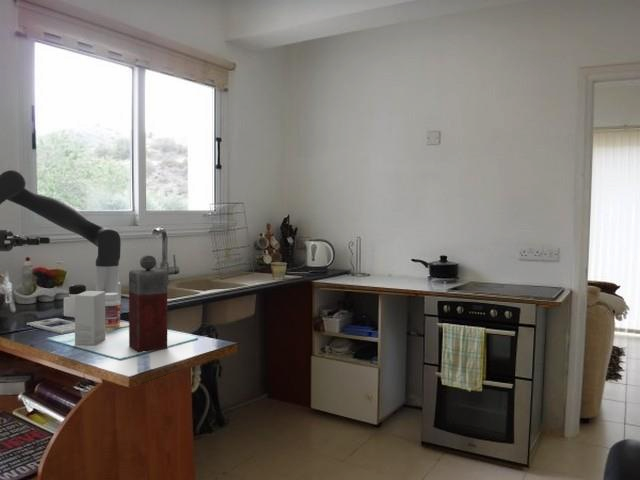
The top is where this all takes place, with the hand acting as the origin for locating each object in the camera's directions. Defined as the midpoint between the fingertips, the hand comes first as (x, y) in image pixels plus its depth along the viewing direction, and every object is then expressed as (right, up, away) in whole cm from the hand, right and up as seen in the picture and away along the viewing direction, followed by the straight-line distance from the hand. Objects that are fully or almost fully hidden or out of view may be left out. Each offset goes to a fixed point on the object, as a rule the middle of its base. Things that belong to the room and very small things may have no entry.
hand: (44, 241), depth 183 cm
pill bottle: (+23, -30, +2) cm, 38 cm away
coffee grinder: (+44, -32, -24) cm, 60 cm away
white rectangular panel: (+5, -30, 0) cm, 31 cm away
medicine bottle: (+2, -29, +20) cm, 35 cm away
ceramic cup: (+72, -24, +140) cm, 159 cm away
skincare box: (+25, -32, -20) cm, 45 cm away
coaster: (+23, -30, +2) cm, 38 cm away
